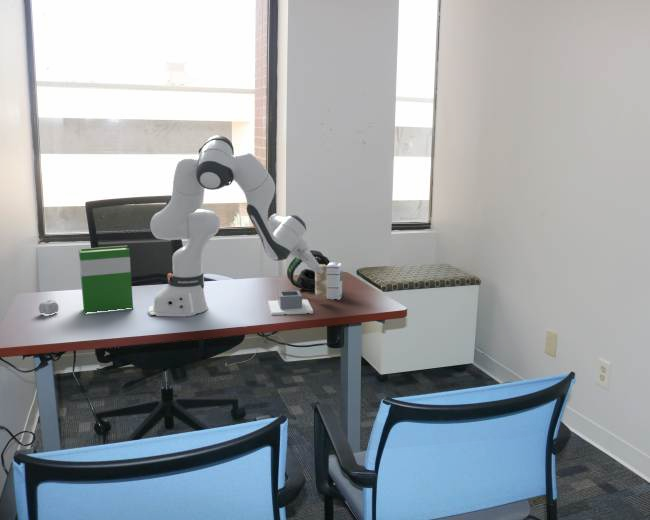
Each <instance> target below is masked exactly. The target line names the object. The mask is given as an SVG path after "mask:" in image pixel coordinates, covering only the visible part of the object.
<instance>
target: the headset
mask: <svg viewBox="0 0 650 520" xmlns="http://www.w3.org/2000/svg"><path fill="white" fill-rule="evenodd" d="M309 251H310V252H311V253H312V255H313V256H314V258H315V259H316V261H317V262H318V263H319V264H325V265H326V266H327V265H328V264H329V263H331V261H330V260H329V258H328V257H327V256H325V255H323V253H322V252H321V251H318V250H313V249H312V250H309ZM301 263H304V262H303V261H302V260H301V259H300V258H299V259H297V258H296V257H295V258H292V261H290V263H289V265H288V267H287V270H286V276H287V278H288V280H289V282H291V285H293V287H296V288H297V289H301V290H303V291H307V292H310V291H311V292H312V290H313V291H315V271H312V270H311V269H310V268H308V269H307V268H304V269H303V270H301V271H300V273H299V276H298V278H296V280H295V279H294V275H295V274H294V273H295V271H296V270H297V268H298V267H299V266H300V264H301Z"/></svg>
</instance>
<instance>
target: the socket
mask: <svg viewBox="0 0 650 520" xmlns="http://www.w3.org/2000/svg"><path fill="white" fill-rule="evenodd" d="M277 296H278V297H277V299H278V300H277V299H276V300H267V305H268V307H269V312H270V315H271V316H280V315H281V316H282V315H284V314H287V315H301V314H302V315H303V314H304V315H306V314H307V313H309V314H314V310H313V308H312V306H311V304H310V302H309V299H308V298H306V299H305V298H303V295H302V293H301V290H299V289H297V290H295V289H293V290H278V292H277ZM307 315H308V314H307Z"/></svg>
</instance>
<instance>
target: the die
mask: <svg viewBox="0 0 650 520" xmlns="http://www.w3.org/2000/svg"><path fill="white" fill-rule="evenodd" d="M59 308H60V307H59V304H58V302H57V301H55V300H54V299H46V300H42V301H40V303H39V305H38V312H39V313H45V314H52V313H55V312H57V313H58V312H59Z"/></svg>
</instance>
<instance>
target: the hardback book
mask: <svg viewBox="0 0 650 520" xmlns="http://www.w3.org/2000/svg"><path fill="white" fill-rule="evenodd" d="M130 252H131V251H130V248H128V245H115V246H104V247H88V248H78V260H79V268H80V270H79V271H80V282H81V284H80V285H81V293H82V295H81V296H82V307H83V308H84V309H83V308H82V309H83V313H84V312H85V313H87V312H97V311H108V310H117V309H126V308H133V309H134V304H133V299H134V298H133V284H132V273H131V270H132V269H131V255H130ZM85 313H84V314H85Z"/></svg>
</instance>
